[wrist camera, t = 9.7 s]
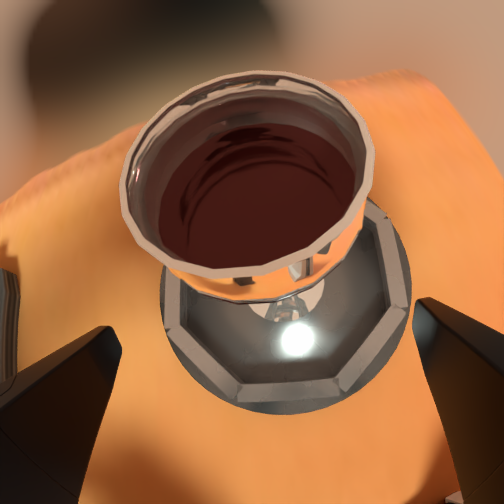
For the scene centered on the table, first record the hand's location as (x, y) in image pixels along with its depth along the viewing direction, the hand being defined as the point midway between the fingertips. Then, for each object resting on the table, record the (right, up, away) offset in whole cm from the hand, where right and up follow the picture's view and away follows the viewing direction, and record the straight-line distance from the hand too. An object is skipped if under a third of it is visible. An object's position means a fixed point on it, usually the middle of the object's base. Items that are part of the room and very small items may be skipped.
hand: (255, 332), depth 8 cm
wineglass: (+2, 0, +10) cm, 10 cm away
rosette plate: (+2, 0, +11) cm, 11 cm away
